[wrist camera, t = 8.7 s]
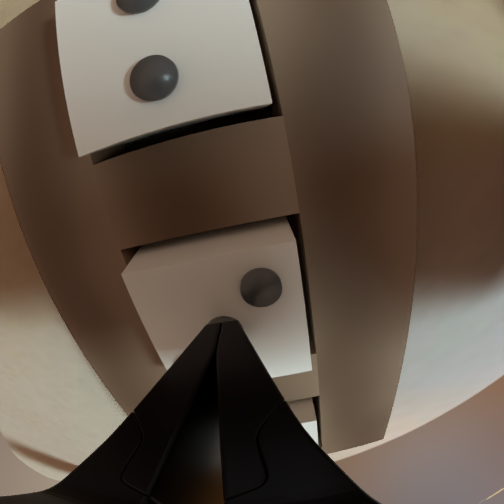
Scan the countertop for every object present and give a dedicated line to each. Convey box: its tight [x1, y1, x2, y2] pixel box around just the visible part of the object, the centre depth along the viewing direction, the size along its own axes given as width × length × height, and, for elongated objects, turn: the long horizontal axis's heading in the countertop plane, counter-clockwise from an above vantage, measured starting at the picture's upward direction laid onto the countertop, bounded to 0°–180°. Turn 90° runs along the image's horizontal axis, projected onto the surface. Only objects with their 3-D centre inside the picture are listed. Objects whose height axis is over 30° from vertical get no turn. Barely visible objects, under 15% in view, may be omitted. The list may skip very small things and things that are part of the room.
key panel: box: [0, 0, 418, 454], centre depth 10 cm, size 12×22×2 cm, turn 11°
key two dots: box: [55, 0, 272, 157], centre depth 6 cm, size 4×4×4 cm
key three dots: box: [121, 216, 312, 378], centre depth 9 cm, size 4×4×4 cm
